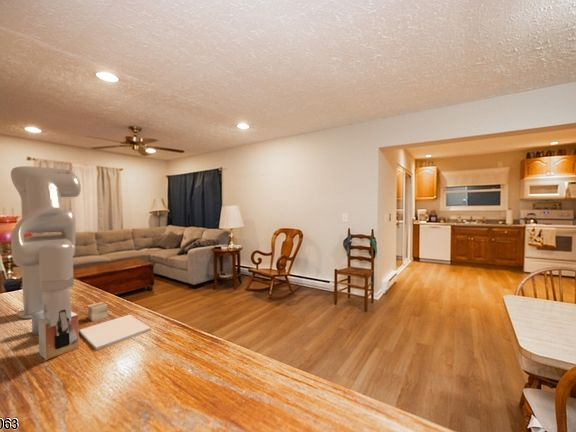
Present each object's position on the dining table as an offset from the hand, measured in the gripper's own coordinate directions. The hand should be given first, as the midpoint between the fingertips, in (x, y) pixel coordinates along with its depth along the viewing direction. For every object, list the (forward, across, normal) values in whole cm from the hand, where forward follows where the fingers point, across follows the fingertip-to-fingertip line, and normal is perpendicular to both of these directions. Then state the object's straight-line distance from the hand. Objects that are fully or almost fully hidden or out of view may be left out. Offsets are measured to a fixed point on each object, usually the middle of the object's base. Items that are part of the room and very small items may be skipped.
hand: (59, 342), depth 78 cm
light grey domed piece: (+3, -21, -1) cm, 21 cm away
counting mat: (+3, -1, +15) cm, 15 cm away
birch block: (+3, -19, +15) cm, 24 cm away
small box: (+3, 0, 0) cm, 3 cm away
